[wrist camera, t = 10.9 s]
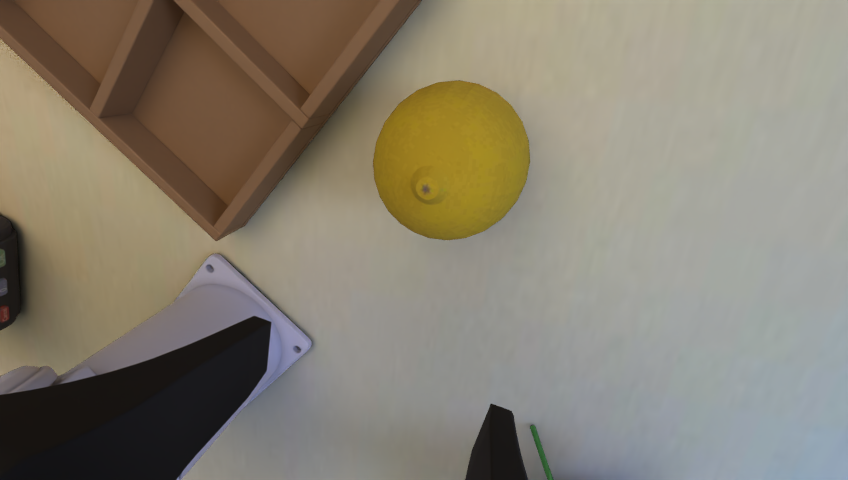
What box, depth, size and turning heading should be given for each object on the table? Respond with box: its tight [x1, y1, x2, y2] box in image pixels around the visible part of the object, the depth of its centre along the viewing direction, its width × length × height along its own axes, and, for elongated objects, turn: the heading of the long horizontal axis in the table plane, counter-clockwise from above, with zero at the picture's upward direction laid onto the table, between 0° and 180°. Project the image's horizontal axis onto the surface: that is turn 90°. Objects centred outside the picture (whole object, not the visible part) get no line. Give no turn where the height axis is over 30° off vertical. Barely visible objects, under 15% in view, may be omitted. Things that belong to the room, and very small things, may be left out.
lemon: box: [373, 81, 530, 240], centre depth 16 cm, size 6×6×8 cm
